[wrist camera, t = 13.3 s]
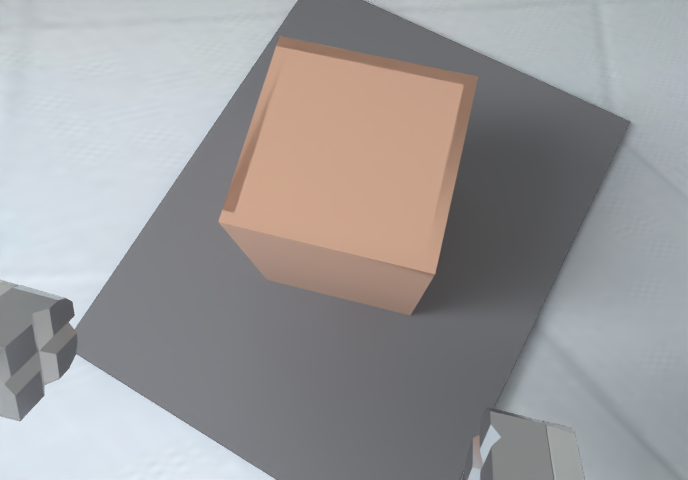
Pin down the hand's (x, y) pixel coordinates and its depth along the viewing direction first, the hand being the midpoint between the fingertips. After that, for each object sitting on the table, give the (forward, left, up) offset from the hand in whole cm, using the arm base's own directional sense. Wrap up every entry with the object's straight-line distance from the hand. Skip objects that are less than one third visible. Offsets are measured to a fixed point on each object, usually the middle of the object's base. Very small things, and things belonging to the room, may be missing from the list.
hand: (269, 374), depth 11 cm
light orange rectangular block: (-2, +6, -11) cm, 13 cm away
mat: (-2, +6, -12) cm, 13 cm away
